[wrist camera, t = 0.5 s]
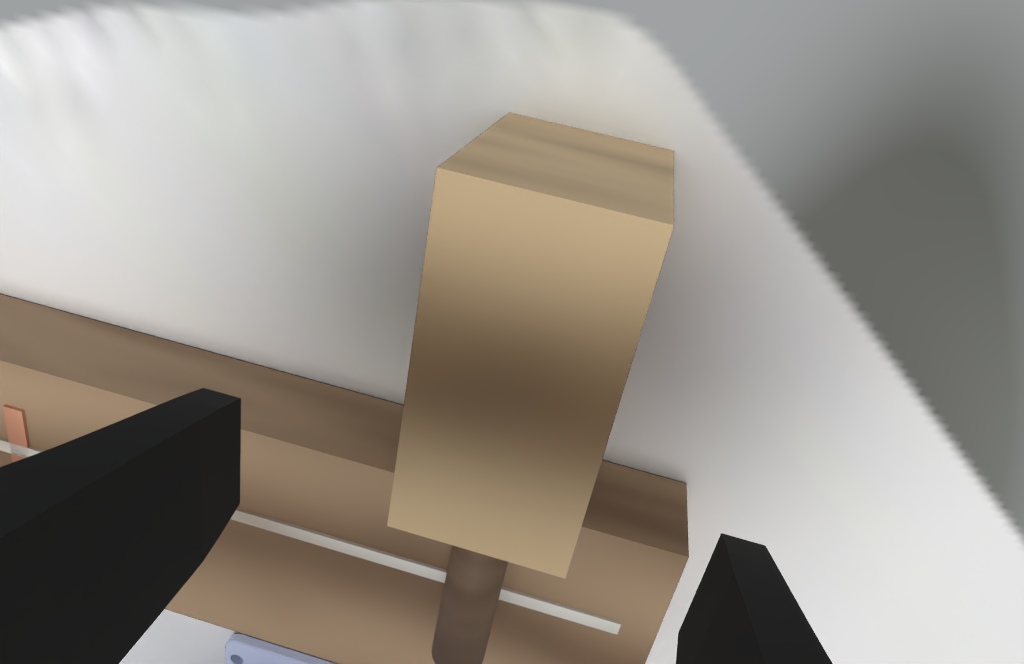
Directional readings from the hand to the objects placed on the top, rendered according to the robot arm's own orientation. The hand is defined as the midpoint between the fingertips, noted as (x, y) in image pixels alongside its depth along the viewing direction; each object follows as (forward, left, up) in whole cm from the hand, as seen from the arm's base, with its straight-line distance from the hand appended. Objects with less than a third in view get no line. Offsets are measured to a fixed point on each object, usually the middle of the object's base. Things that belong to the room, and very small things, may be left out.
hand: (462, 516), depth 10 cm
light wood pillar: (-3, 0, -9) cm, 10 cm away
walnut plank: (-9, +7, -9) cm, 15 cm away
